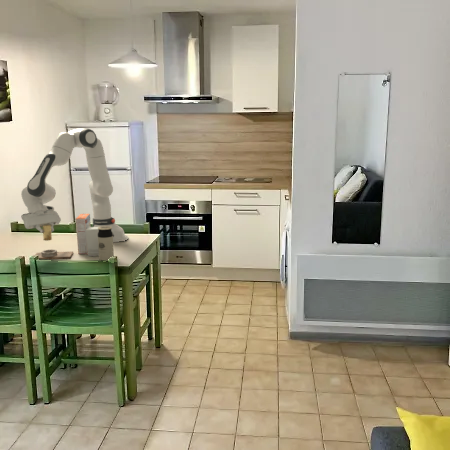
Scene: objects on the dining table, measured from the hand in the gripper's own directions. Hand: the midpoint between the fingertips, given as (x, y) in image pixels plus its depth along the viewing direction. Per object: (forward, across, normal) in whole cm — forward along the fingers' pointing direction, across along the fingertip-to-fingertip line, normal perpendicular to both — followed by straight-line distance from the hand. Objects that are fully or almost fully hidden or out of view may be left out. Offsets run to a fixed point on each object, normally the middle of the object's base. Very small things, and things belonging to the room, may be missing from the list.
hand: (47, 231), depth 285 cm
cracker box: (+12, +21, +8) cm, 26 cm away
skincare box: (+20, +21, 0) cm, 29 cm away
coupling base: (+11, +2, +10) cm, 15 cm away
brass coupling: (+3, 0, +4) cm, 5 cm away
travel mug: (+30, +19, -9) cm, 36 cm away
